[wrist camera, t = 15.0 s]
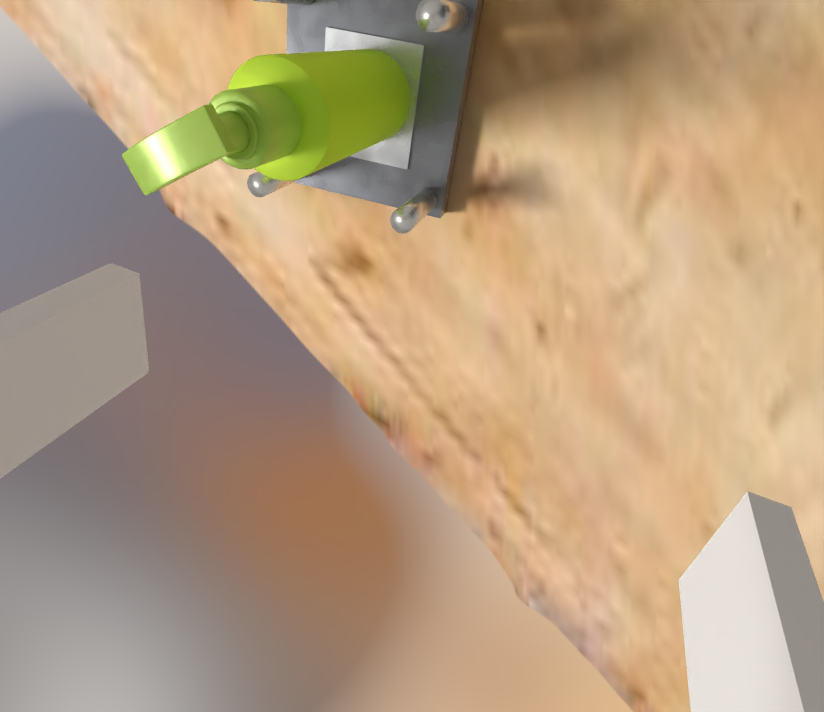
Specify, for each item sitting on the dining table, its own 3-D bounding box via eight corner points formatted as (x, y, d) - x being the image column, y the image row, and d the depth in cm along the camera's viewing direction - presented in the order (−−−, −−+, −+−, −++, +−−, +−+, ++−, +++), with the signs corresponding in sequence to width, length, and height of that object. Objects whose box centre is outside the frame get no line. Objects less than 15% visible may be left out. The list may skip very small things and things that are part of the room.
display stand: (298, -31, 38) (236, -44, 31) (483, -1, 35) (455, -8, 29) (293, 176, 45) (242, 198, 39) (445, 212, 43) (416, 243, 36)
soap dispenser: (306, 78, 39) (84, 109, 23) (389, 32, 36) (202, 31, 20) (341, 158, 41) (161, 241, 25) (423, 122, 38) (279, 188, 22)
